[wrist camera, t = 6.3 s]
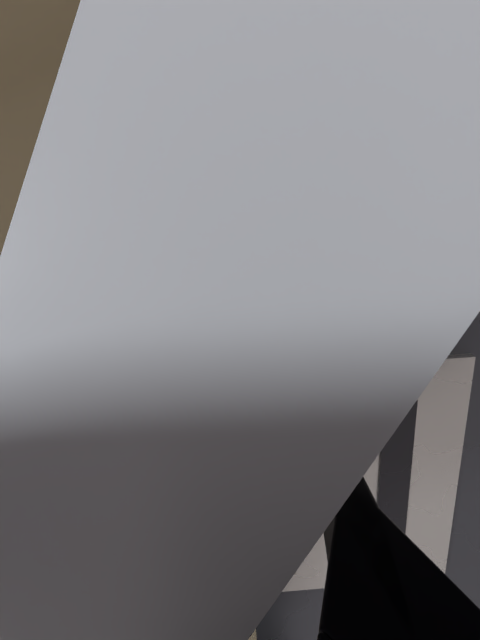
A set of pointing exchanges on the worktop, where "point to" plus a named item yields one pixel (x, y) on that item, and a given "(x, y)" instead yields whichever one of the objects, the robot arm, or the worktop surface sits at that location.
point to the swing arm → (224, 298)
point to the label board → (414, 492)
